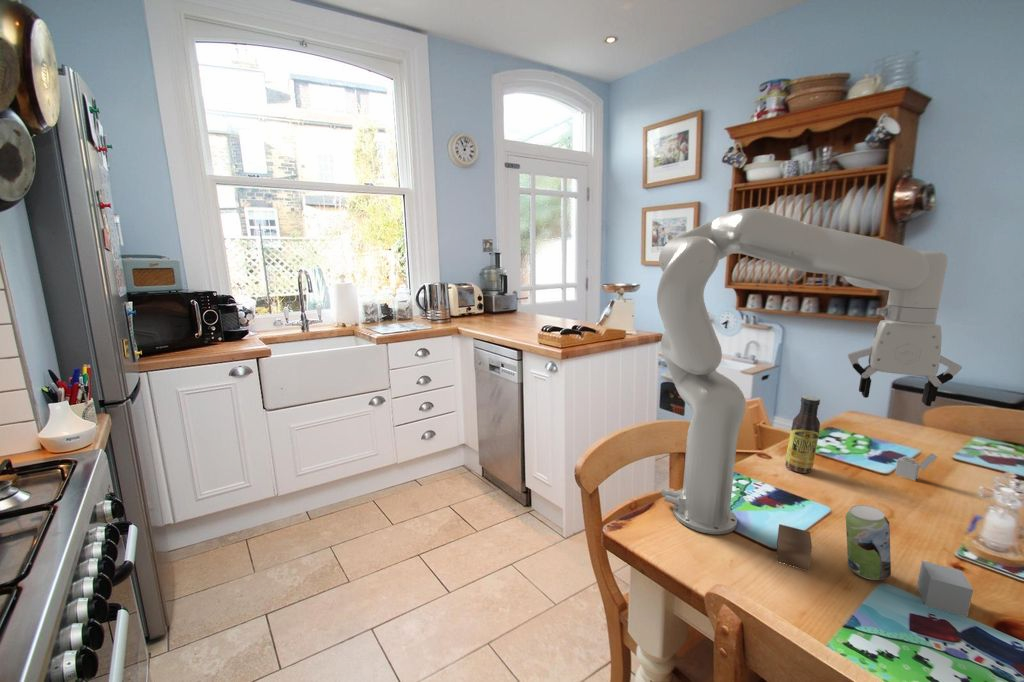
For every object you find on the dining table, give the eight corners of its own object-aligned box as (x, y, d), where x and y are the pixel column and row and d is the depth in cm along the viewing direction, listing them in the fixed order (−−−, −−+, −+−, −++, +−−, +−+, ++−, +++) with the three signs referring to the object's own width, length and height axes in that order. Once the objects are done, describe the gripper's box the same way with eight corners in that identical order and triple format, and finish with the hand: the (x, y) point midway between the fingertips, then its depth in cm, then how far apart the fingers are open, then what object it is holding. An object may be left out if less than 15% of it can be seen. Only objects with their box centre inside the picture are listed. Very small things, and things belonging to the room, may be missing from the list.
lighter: (894, 474, 117) (899, 445, 115) (897, 473, 118) (902, 444, 116) (930, 486, 111) (936, 456, 109) (932, 484, 112) (938, 454, 110)
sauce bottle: (787, 472, 118) (796, 399, 114) (782, 462, 124) (791, 392, 120) (816, 476, 116) (827, 402, 112) (810, 466, 121) (820, 395, 118)
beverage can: (897, 587, 77) (909, 524, 75) (849, 581, 78) (859, 519, 76) (876, 563, 83) (886, 504, 81) (831, 558, 84) (840, 499, 82)
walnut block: (776, 562, 83) (779, 537, 82) (776, 547, 88) (779, 524, 87) (808, 571, 81) (812, 546, 80) (806, 555, 85) (810, 531, 84)
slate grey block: (925, 605, 73) (930, 578, 72) (916, 586, 78) (921, 560, 77) (966, 617, 71) (973, 589, 70) (955, 597, 75) (961, 570, 74)
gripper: (858, 314, 88) (844, 397, 92) (978, 322, 80) (958, 413, 83) (852, 310, 95) (839, 388, 98) (963, 317, 86) (945, 402, 90)
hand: (894, 399), depth 91 cm, fingers open, 9 cm apart
